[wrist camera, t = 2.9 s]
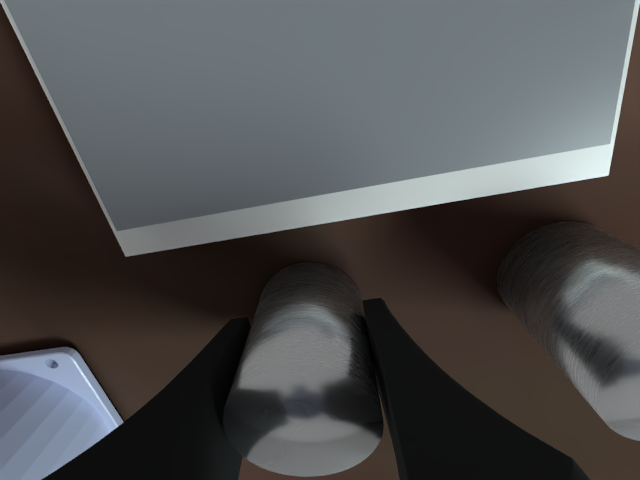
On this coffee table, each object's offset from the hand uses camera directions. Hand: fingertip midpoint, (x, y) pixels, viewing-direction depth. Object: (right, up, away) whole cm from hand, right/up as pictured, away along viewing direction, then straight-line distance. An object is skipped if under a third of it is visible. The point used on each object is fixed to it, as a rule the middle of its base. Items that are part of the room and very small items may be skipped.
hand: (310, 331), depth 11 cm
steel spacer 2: (+9, +2, 0) cm, 9 cm away
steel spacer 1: (0, +1, +1) cm, 1 cm away
